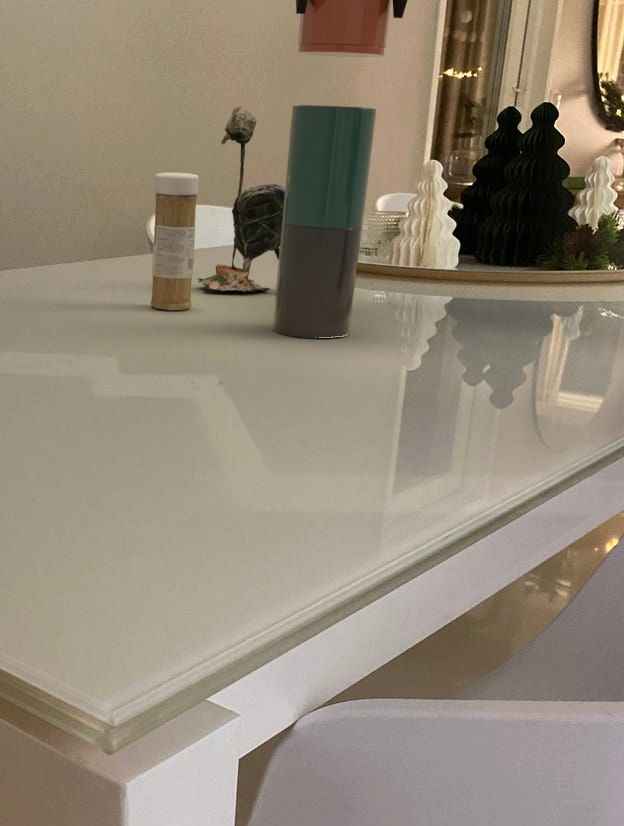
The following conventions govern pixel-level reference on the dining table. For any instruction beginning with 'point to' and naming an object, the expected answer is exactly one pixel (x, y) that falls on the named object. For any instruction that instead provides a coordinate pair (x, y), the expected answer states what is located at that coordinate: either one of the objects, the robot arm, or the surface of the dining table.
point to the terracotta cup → (344, 28)
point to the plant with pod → (249, 216)
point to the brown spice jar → (174, 240)
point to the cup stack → (322, 219)
